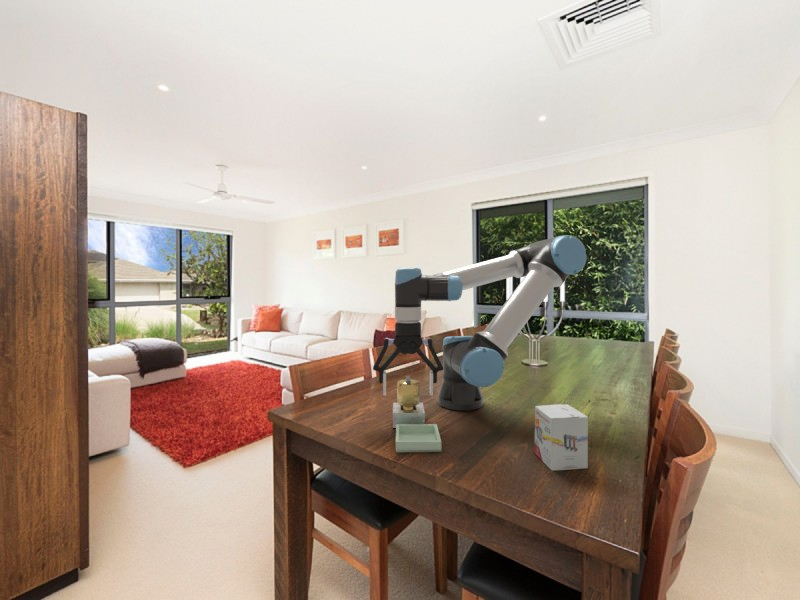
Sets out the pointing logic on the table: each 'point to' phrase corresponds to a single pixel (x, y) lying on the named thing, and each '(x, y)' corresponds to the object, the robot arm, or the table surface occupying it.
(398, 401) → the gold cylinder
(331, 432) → the table surface
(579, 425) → the ink box
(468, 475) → the table surface
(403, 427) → the tray
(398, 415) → the silver square block
